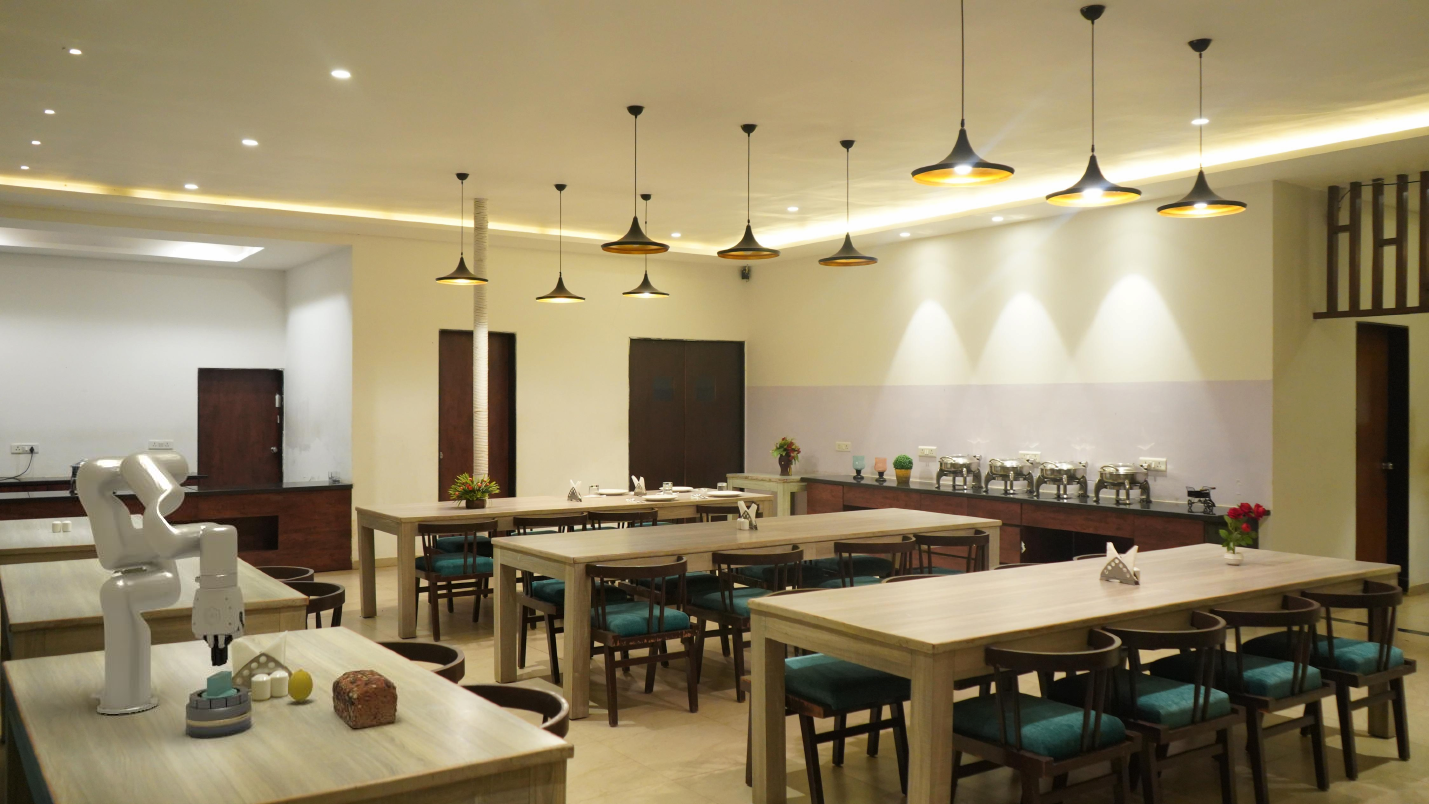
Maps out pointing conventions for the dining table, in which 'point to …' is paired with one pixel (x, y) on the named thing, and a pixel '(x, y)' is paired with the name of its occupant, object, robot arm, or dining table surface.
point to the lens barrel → (218, 714)
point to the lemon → (300, 685)
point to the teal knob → (219, 685)
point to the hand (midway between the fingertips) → (219, 664)
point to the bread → (364, 698)
